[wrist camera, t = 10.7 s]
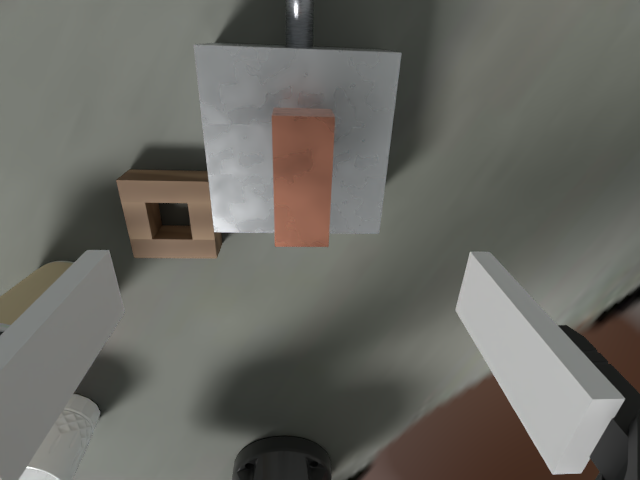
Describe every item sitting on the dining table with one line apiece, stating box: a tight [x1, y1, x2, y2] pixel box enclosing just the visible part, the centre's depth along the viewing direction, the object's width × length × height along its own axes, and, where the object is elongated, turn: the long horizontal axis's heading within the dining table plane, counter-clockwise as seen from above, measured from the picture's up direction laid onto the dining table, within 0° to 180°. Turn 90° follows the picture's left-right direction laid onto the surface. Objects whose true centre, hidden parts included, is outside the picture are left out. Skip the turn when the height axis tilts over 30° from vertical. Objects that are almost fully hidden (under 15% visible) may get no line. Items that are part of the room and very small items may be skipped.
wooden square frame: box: [116, 170, 222, 258], centre depth 37 cm, size 8×8×3 cm
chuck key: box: [272, 107, 335, 247], centre depth 27 cm, size 3×8×12 cm, turn 178°
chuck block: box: [194, 0, 402, 234], centre depth 30 cm, size 23×14×7 cm, turn 178°
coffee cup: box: [0, 261, 74, 332], centre depth 37 cm, size 9×9×12 cm
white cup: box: [19, 394, 100, 480], centre depth 47 cm, size 8×8×10 cm
